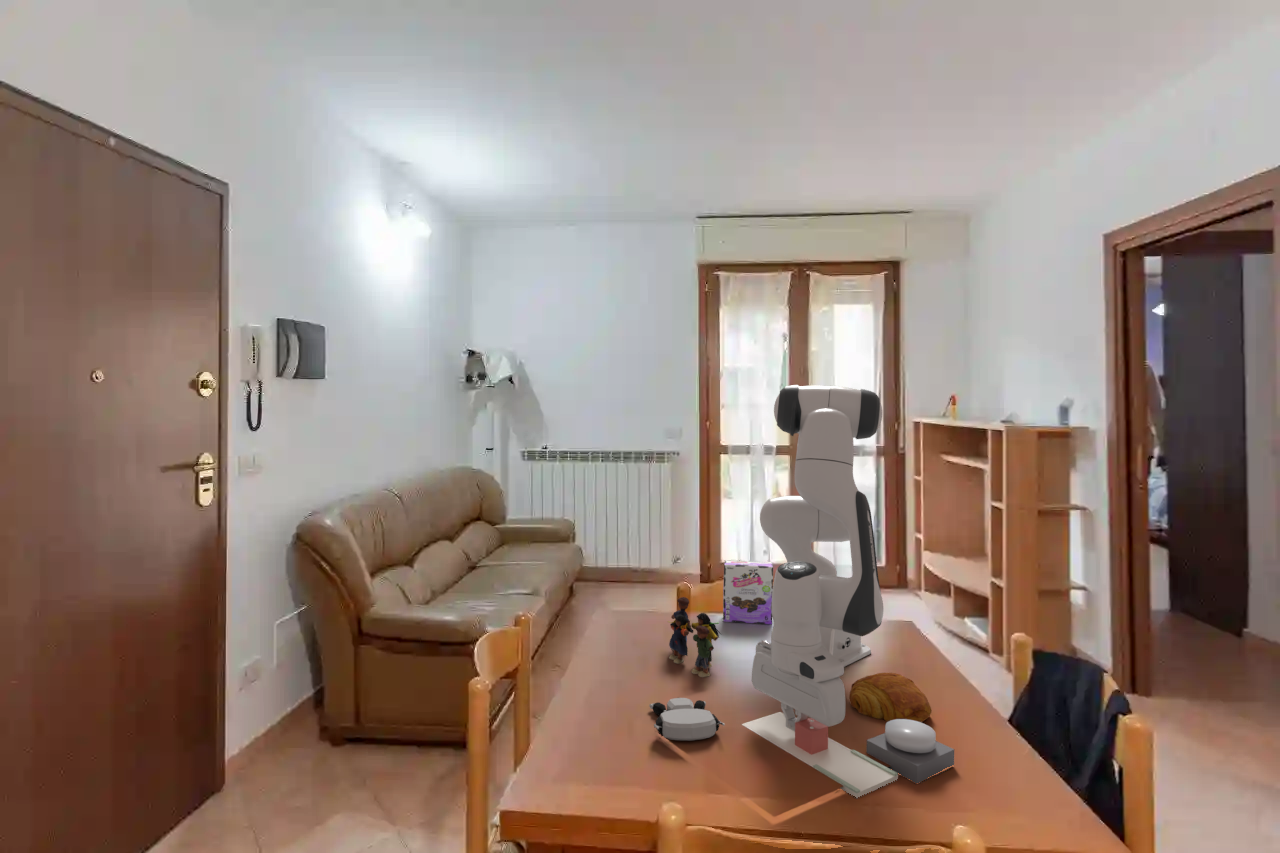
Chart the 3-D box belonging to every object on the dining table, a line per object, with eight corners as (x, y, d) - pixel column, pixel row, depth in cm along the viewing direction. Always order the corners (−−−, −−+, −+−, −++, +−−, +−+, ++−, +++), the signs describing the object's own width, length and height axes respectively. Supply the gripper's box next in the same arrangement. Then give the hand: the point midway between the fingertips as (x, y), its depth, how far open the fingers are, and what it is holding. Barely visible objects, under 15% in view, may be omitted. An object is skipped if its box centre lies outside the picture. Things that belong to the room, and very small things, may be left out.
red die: (811, 739, 123) (811, 716, 123) (827, 748, 120) (828, 725, 120) (794, 744, 121) (795, 721, 121) (811, 754, 118) (811, 730, 117)
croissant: (838, 712, 141) (833, 674, 141) (902, 692, 145) (897, 656, 145) (882, 743, 127) (877, 702, 127) (951, 721, 132) (946, 680, 131)
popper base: (903, 742, 124) (903, 725, 124) (954, 766, 115) (954, 749, 115) (866, 757, 119) (866, 740, 118) (917, 784, 110) (917, 765, 110)
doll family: (647, 650, 170) (647, 597, 169) (676, 643, 175) (676, 591, 174) (707, 681, 151) (708, 621, 150) (738, 672, 156) (738, 614, 156)
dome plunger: (904, 737, 122) (904, 715, 122) (945, 756, 116) (945, 733, 116) (875, 748, 118) (875, 726, 118) (915, 769, 111) (916, 745, 111)
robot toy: (646, 718, 135) (657, 751, 120) (646, 695, 135) (657, 725, 120) (707, 715, 136) (726, 747, 121) (707, 692, 136) (725, 721, 122)
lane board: (780, 715, 134) (780, 710, 134) (897, 779, 111) (897, 773, 111) (729, 732, 127) (729, 726, 127) (843, 804, 104) (843, 797, 104)
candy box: (722, 622, 192) (723, 564, 191) (723, 615, 198) (724, 559, 197) (772, 625, 190) (773, 566, 189) (772, 618, 195) (772, 561, 195)
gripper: (744, 640, 130) (743, 712, 131) (825, 676, 113) (824, 759, 113) (769, 634, 134) (768, 704, 134) (851, 668, 116) (850, 749, 117)
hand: (794, 729), depth 124 cm, fingers closed
